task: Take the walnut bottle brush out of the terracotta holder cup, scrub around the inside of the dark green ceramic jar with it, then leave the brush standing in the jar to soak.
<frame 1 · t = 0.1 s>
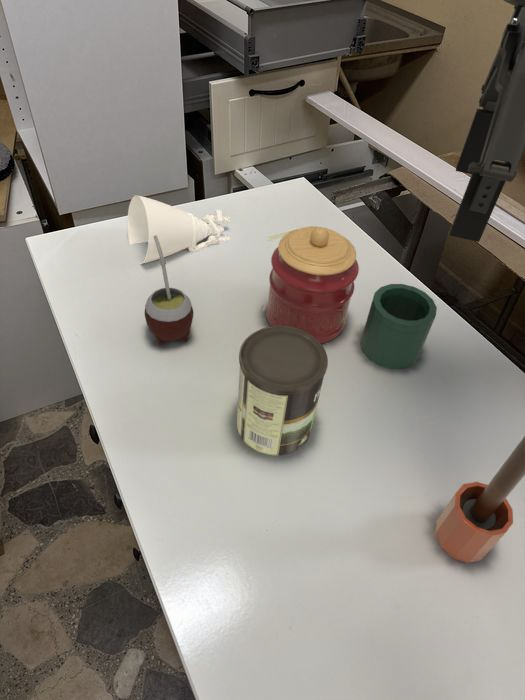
hand: (466, 201, 54), 31 cm above the table, tool pointing down, fingers open, 13 cm apart
holder: (458, 540, 61), on the table
brush: (460, 537, 61), point 1 cm above the table, touching holder
jar: (387, 351, 82), on the table
coffee can: (273, 428, 71), on the table
mate gourd: (169, 337, 81), on the table
rocket engine: (184, 253, 96), on the table
kitchen canister: (304, 322, 86), on the table
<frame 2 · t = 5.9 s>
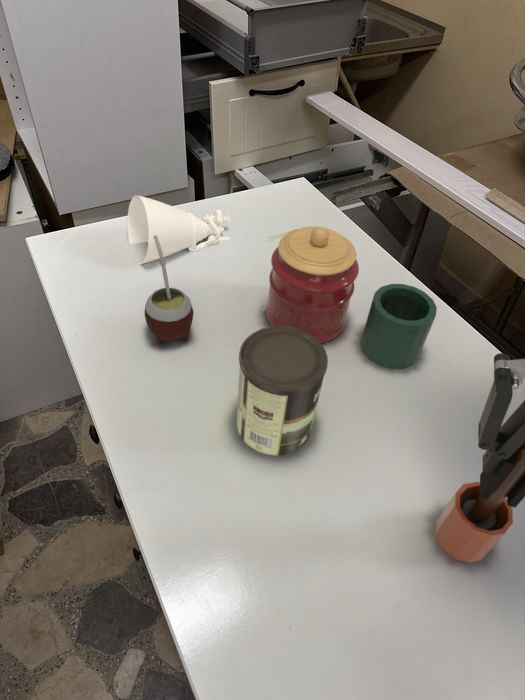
hand: (497, 490, 53), 12 cm above the table, tool pointing down, fingers closed on brush, 2 cm apart
brush: (460, 537, 61), point 1 cm above the table, touching gripper, holder
everything else where it was.
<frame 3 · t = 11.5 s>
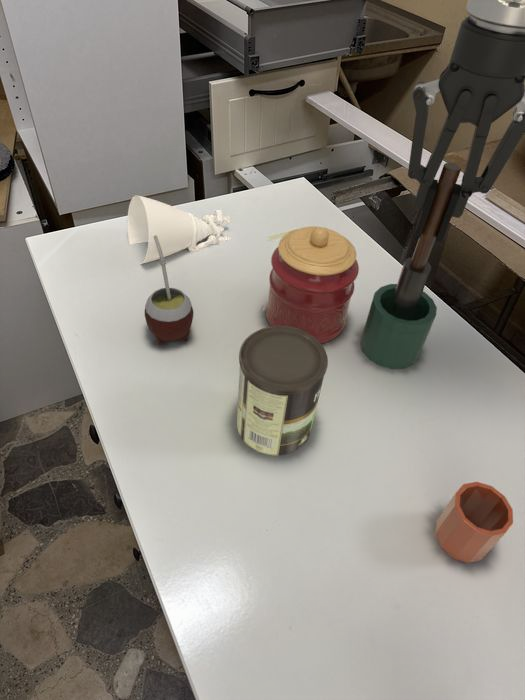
hand: (428, 233, 66), 22 cm above the table, tool pointing down, fingers closed on brush, 2 cm apart
brush: (405, 299, 74), point 11 cm above the table, touching gripper
everything else where it was.
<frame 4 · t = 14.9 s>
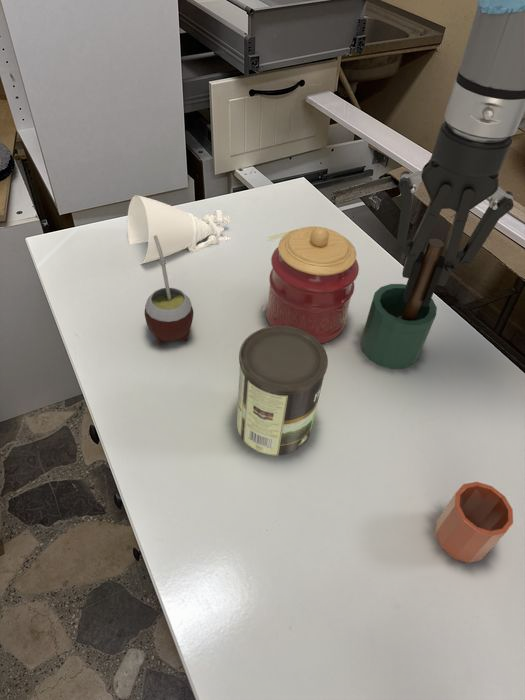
hand: (416, 297, 72), 12 cm above the table, tool pointing down, fingers closed on brush, 2 cm apart
brush: (396, 352, 80), point 1 cm above the table, touching gripper
everything else where it was.
when the fingers open (12 cm above the table, at t = 17.0 s): brush stays where it is, resting on jar.
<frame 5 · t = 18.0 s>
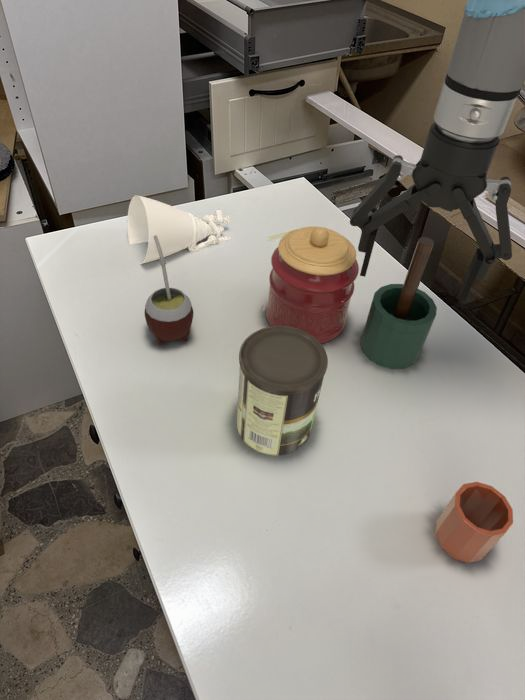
hand: (412, 282, 72), 14 cm above the table, tool pointing down, fingers open, 13 cm apart
brush: (388, 349, 82), point 1 cm above the table, touching jar
everything else where it was.
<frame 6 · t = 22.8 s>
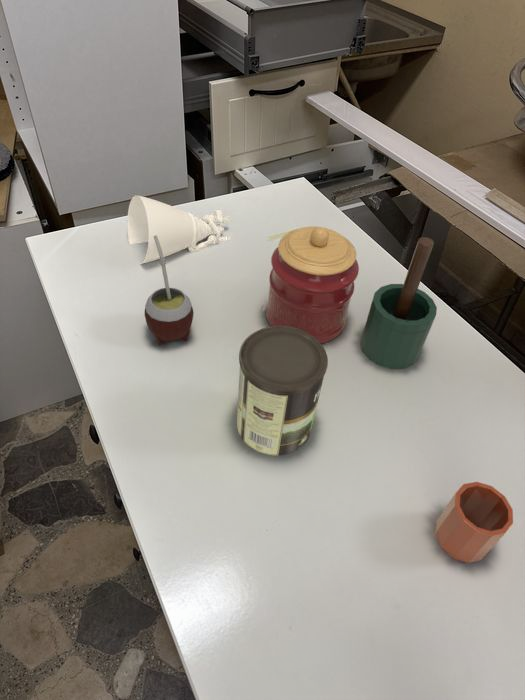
nothing on the table moved.
at the end: brush inside the target area in the jar (0.1 cm from its centre), point 0.6 cm above the jar's base; the gripper is holding nothing; brush moved 30.5 cm from its start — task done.
